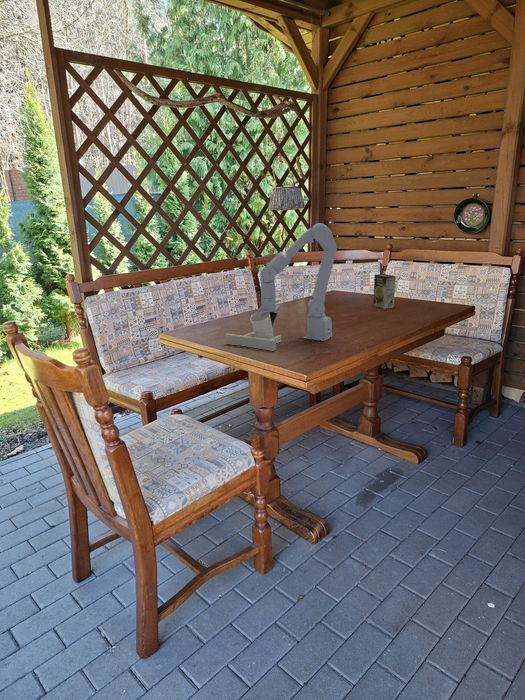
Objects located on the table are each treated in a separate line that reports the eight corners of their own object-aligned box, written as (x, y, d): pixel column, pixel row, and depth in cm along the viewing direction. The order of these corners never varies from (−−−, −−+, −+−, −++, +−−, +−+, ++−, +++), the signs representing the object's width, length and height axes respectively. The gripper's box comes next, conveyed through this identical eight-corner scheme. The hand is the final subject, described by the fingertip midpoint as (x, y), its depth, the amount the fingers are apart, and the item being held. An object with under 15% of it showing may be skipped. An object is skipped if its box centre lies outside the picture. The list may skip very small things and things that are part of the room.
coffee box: (372, 306, 243) (373, 274, 239) (382, 304, 246) (384, 273, 241) (384, 309, 235) (385, 276, 231) (394, 307, 238) (396, 275, 233)
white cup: (259, 345, 183) (253, 324, 178) (253, 336, 190) (247, 315, 184) (278, 338, 184) (272, 316, 179) (271, 330, 191) (265, 308, 185)
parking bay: (291, 343, 182) (290, 333, 181) (273, 351, 172) (273, 341, 171) (244, 336, 194) (243, 327, 192) (225, 344, 184) (225, 334, 182)
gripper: (269, 293, 193) (270, 325, 197) (249, 299, 181) (250, 333, 185) (284, 294, 189) (284, 327, 193) (264, 301, 177) (265, 336, 181)
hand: (269, 330), depth 189 cm, fingers closed, pressing on white cup
